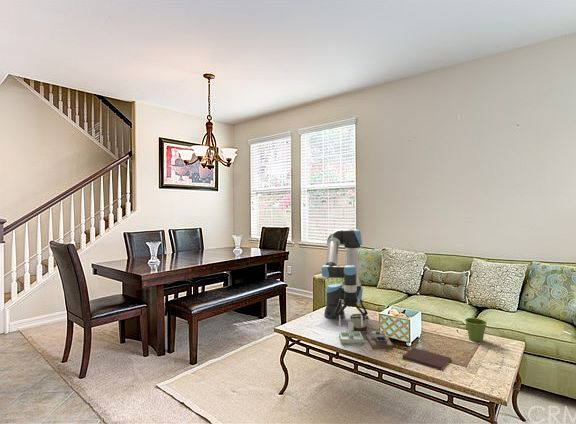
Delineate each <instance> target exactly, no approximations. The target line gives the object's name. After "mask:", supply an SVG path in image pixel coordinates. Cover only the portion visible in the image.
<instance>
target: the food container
mask: <svg viewBox="0 0 576 424" xmlns="http://www.w3.org/2000/svg"><path fill="white" fill-rule="evenodd" d="M361 315H362V314H361V313H352V314H351V315H350V317H349V319H350V321H352V322H353V332H360V333H361V332H363V333H366V332H368V325H369V320H370V317H369V316H368V314H367V315H365V321H363V327H362V326H361Z"/></svg>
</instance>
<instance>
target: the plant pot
mask: <svg viewBox="0 0 576 424" xmlns="http://www.w3.org/2000/svg"><path fill="white" fill-rule="evenodd" d="M464 321H465V324H466V329H467V334H468V339H469V340H470V341H473V342H479V343H480V342H483V340H484V336H485V330H486V328H487V325H488V321H486V320H484V319H482V318H476V317H466V318H464Z"/></svg>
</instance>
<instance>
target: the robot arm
mask: <svg viewBox="0 0 576 424" xmlns="http://www.w3.org/2000/svg"><path fill="white" fill-rule="evenodd" d="M326 245H327V251H326V260H325V265H322V266H321V277H322V278H331V279H333V278H334V279H337V278H338V279H343V284H342V283H332V284H329V285H327V286H326V288H325V289H326V291H325V293H326V295H325V296H326V297H325V298H326V305H325V308H324V313H323V316H324V317H325V318H327V319H334V320H335V319H336V321H337V322H338V327H340V328H341V327H342V326H341V324H342V323H341V319H343V318H344V317H345V315H346V313H345V309H346V308H347V307H348V308H351V307H352V308H354V307H355V308H356V309H357V310H358V312H359V313H360V314H362V315H361V326H362V327H363V321H365V315H367V316H368V311H367V309H366V307H365V306H364V304H363V300H362V299H363V290H364V286H362V284H361V283H360V281H359V274H360V273H359V250H360V249H361V246H362V245H363V240H362V233H361V230H360V229H354V228H347V229H341V228H339V229H336V230H334V231H332V232H331V233H330V235H329V236H328V237H327V241H326ZM340 246H344V249H345V251H346V252H345V253H346V265H338V260H339V247H340ZM358 304H360V306H361V307H360V306H358ZM361 308H362V309H363V310H362V309H361Z"/></svg>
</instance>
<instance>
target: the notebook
mask: <svg viewBox="0 0 576 424" xmlns="http://www.w3.org/2000/svg"><path fill="white" fill-rule="evenodd" d="M402 359H404V360H407V361H410V362H413V363H416V364H420V365H423V366H426V367H428V368H433V369H436V370H439V371H442V369H444V368H445V366H447V364H449V362H450V361H451V359H452V358H451V357H448V356H445V355H442V354H439V353H434V352H431V351H427V350H424V349H420V348H416V347H412V348H411V349H409V351H407V352H406V353H403V355H402Z"/></svg>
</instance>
